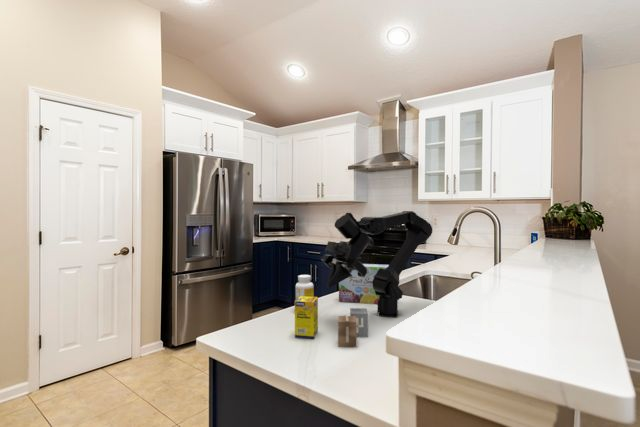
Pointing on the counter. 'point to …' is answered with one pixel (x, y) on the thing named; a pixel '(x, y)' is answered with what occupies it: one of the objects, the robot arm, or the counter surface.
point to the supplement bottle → (304, 286)
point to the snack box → (360, 286)
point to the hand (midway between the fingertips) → (328, 286)
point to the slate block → (360, 321)
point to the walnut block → (346, 331)
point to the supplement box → (306, 317)
